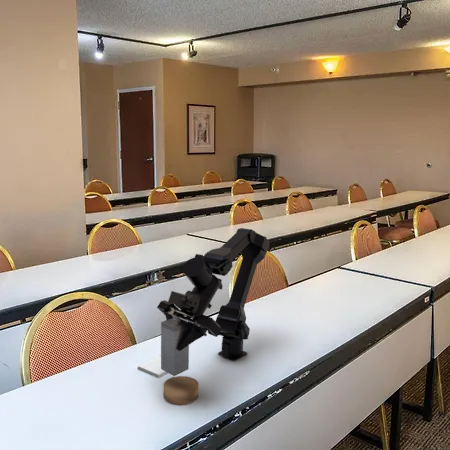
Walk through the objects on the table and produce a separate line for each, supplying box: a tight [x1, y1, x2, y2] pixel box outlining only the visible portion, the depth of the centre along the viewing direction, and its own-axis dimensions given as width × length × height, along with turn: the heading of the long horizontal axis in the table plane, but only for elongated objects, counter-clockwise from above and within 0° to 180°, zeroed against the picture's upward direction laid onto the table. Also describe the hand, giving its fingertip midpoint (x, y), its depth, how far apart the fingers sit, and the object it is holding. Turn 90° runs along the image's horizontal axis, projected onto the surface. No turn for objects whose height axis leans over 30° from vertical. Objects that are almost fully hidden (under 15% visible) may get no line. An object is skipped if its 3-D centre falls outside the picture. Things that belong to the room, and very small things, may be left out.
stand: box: [162, 375, 200, 406], centre depth 131 cm, size 9×9×3 cm
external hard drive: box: [137, 354, 168, 379], centre depth 147 cm, size 2×8×12 cm
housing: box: [160, 317, 190, 377], centre depth 129 cm, size 5×5×13 cm
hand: (171, 346), depth 128 cm, fingers closed on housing, 5 cm apart
